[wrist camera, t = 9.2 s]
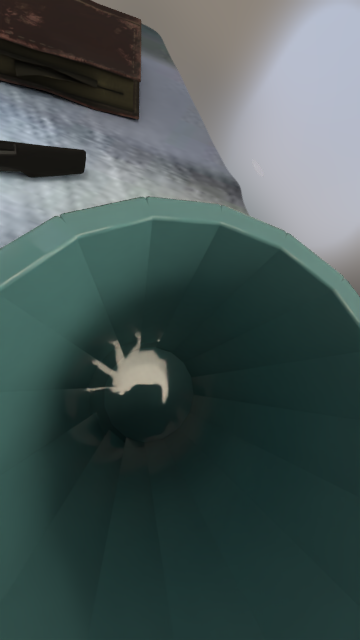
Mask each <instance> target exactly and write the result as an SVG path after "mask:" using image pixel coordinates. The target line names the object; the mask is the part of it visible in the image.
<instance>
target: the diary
mask: <svg viewBox="0 0 360 640" xmlns="http://www.w3.org/2000/svg"><path fill="white" fill-rule="evenodd" d="M0 80H1V81H6V82H10V83H14V84H18V85H22V86H27V87H31V88H35V89H39V90H43V91H48V92H50V93H53V94H56V95H58V96H61V97H63V98H66V99H69V100H71V101H74V102H76V103H79V104H81V105H84V106H87V107H89V108H92V109H94V110H99V111H103V112H108V113H112V114H117V115H121V116H125V117H130V118H134V119H137V120H138V119H139V82H141V20H140V19H138V18H136V17H133V16H130V15H127V14H125V13H122V12H119V11H117V10H114V9H111V8H108V7H106V6H103V5H100V4H98V3H95V2H93V1H91V0H0Z"/></svg>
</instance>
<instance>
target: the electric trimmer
mask: <svg viewBox="0 0 360 640" xmlns="http://www.w3.org/2000/svg"><path fill="white" fill-rule="evenodd" d="M85 162H86V152H85V151H84V150H79V149H70V148H61V147H51V146H42V145H33V144H25V143H18V142H10V141H0V171H9V172H22V173H24V174H25V175H27V176H29V177H44V176H58V175H70V174H81V173H83V172H84V168H85Z"/></svg>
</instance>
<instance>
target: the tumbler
mask: <svg viewBox="0 0 360 640" xmlns="http://www.w3.org/2000/svg"><path fill="white" fill-rule="evenodd" d="M0 640H360V296H359V295H358V294H357V293H356V291H355V290H354V289H353V287H352V286H351V285H350V283H349V282H348V281H347V280H346V279H344V277H343V275H341V274H340V273H339V272H338V271H336V270H335V269H334V268H332V267H331V266H330V265H329V264H328V263H326V262H325V261H323V260H322V259H321V258H320V257H319V256H317V255H316V254H315V253H314V252H312V251H311V250H310V249H308V248H307V247H306V246H305V245H303V244H302V243H301V242H299V241H298V240H297V239H296V238H294V237H293V236H292V235H291V234H289V233H286V232H285V231H284V230H282V229H279V228H277V227H275V226H272V225H270V224H267V223H265V222H263V221H260V220H258V219H255V218H253V217H251V216H248V215H246V214H244V213H241V212H239V211H236V210H234V209H232V208H229V207H227V206H224V205H221V206H220V205H219V204H216V203H206V202H197V201H187V200H177V199H168V198H158V197H146V199H145V198H144V197H139V198H134V199H129V200H125V201H120V202H115V203H110V204H106V205H101V206H96V207H92V208H87V209H82V210H78V211H73V212H68V213H64V214H61V215H60V217H59V216H54V217H53V218H51V219H49V220H48V221H46V222H44V223H43V224H41V225H39V226H38V227H36V228H34V229H33V230H31V231H29V232H27V233H26V234H24V235H22V236H21V237H19V238H17V239H16V240H14V241H12V242H11V243H9V244H7V245H6V246H4V247H2V248H1V249H0Z"/></svg>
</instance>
